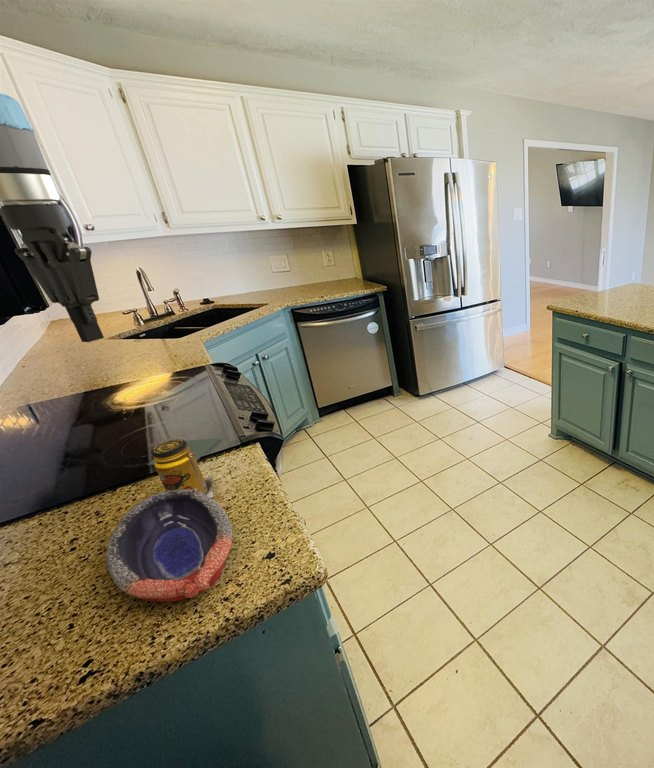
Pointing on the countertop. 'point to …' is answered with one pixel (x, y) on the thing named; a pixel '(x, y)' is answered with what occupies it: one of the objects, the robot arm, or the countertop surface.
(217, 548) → the dish
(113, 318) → the countertop surface
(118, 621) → the countertop surface
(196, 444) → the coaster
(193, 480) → the condiment
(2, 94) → the robot arm
